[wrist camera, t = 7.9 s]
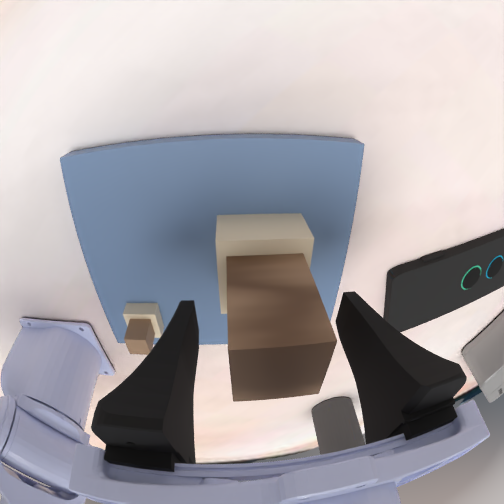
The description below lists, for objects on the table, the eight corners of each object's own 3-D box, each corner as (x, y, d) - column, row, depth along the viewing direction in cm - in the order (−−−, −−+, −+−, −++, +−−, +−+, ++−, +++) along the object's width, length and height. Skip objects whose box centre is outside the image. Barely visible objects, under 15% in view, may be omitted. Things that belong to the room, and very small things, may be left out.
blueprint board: (121, 330, 24) (109, 371, 20) (70, 151, 15) (31, 175, 11) (321, 324, 25) (335, 366, 21) (354, 138, 16) (391, 158, 12)
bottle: (335, 393, 33) (362, 497, 20) (359, 399, 35) (386, 491, 22) (302, 412, 35) (321, 509, 22) (328, 417, 37) (349, 504, 25)
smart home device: (514, 281, 24) (386, 339, 26) (506, 273, 26) (380, 327, 27) (531, 224, 20) (393, 276, 21) (521, 217, 21) (384, 264, 23)
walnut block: (229, 312, 17) (233, 401, 12) (226, 256, 15) (228, 349, 10) (296, 308, 17) (318, 393, 12) (303, 253, 15) (337, 340, 10)
